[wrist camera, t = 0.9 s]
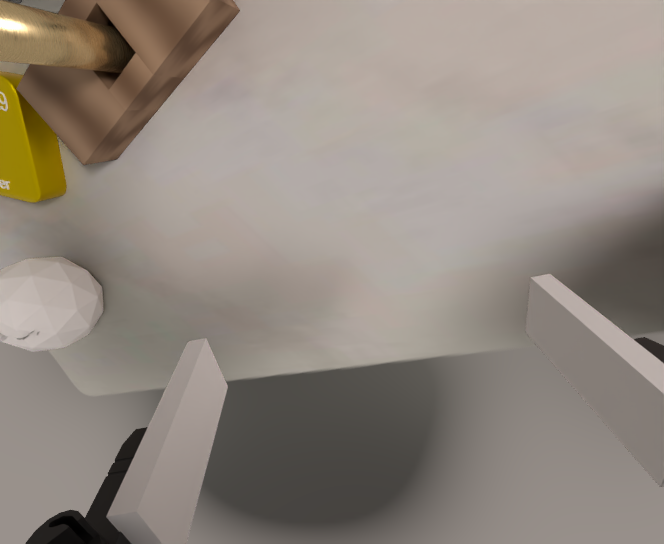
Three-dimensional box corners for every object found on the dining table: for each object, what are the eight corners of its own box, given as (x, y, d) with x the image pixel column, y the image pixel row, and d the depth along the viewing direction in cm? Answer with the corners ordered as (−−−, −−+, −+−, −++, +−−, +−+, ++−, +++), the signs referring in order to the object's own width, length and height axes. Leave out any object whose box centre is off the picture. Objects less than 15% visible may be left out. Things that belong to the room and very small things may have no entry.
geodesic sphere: (93, 257, 46) (-53, 294, 38) (126, 346, 51) (5, 393, 44) (81, 235, 56) (-36, 261, 49) (110, 311, 62) (9, 344, 54)
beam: (170, -90, 33) (131, -119, 29) (240, 10, 35) (213, -3, 31) (58, 90, 44) (16, 88, 39) (116, 159, 46) (83, 165, 41)
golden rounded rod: (136, 24, 38) (-35, -23, 24) (162, 57, 39) (11, 31, 25) (117, 51, 40) (-53, 23, 26) (142, 83, 41) (-10, 72, 27)
